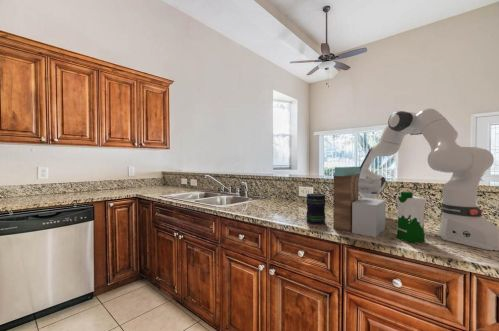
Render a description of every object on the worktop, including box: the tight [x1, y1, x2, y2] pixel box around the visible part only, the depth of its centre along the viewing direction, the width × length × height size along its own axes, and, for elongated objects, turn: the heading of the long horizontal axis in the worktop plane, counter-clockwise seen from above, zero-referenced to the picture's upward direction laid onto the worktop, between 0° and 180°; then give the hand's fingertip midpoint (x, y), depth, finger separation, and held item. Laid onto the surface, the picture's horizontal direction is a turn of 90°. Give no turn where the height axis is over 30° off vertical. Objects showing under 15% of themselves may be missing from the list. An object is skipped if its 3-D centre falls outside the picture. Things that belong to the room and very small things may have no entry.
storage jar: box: [305, 192, 326, 226], centre depth 129 cm, size 10×10×15 cm
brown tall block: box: [332, 174, 359, 233], centre depth 119 cm, size 12×8×26 cm, turn 140°
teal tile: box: [334, 166, 360, 176], centre depth 121 cm, size 26×4×4 cm, turn 140°
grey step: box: [351, 198, 386, 238], centre depth 114 cm, size 18×10×14 cm, turn 140°
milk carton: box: [395, 191, 428, 244], centre depth 100 cm, size 9×9×20 cm
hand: (358, 176), depth 133 cm, fingers open, 8 cm apart
